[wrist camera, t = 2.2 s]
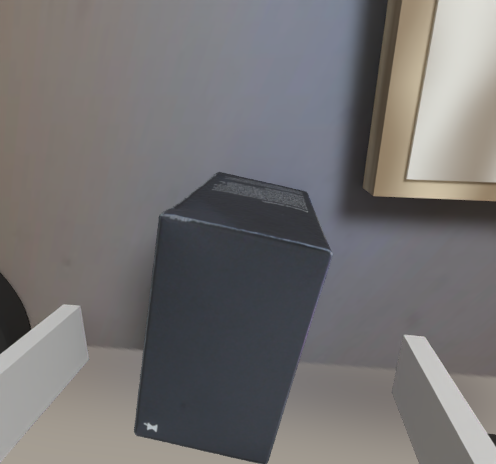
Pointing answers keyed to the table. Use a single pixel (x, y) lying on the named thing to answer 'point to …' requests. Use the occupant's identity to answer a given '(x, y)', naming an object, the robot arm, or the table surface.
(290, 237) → the small box
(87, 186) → the table surface
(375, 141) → the beech picture frame
